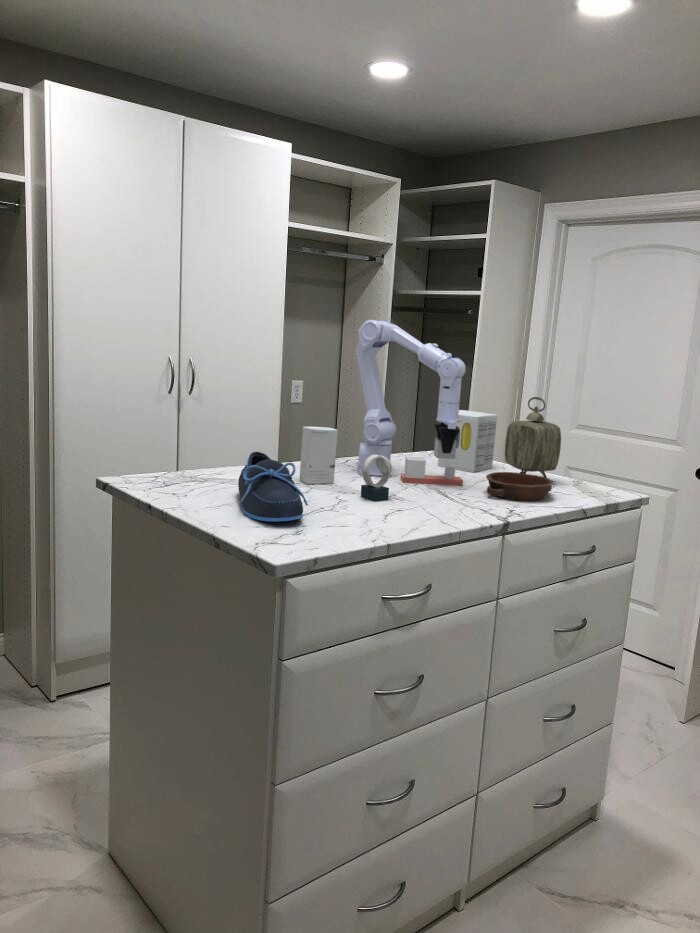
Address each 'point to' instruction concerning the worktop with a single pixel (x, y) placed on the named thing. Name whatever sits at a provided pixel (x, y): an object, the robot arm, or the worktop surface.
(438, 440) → the grey cube
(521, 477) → the dish
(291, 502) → the moccasin
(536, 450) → the tabletop clock
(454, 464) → the supplement box
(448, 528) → the worktop surface
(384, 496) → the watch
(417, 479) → the rail
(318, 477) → the skincare box
